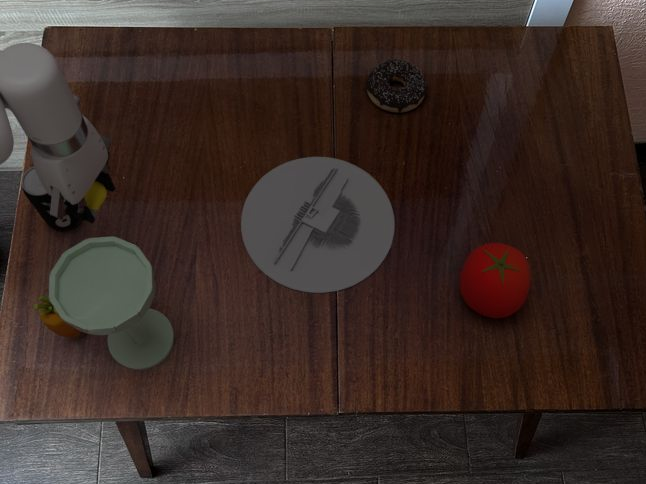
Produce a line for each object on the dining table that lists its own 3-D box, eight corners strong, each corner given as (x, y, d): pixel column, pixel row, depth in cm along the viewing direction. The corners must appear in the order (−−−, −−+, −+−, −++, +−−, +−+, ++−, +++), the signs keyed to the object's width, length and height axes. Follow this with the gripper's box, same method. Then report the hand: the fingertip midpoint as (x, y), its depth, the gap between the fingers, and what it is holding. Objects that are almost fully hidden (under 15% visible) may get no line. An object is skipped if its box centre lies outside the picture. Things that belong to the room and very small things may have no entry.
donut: (377, 62, 139) (378, 47, 136) (433, 80, 138) (436, 66, 135) (358, 105, 136) (359, 91, 132) (416, 123, 135) (418, 110, 131)
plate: (292, 134, 133) (292, 130, 132) (421, 200, 129) (422, 197, 128) (211, 246, 124) (210, 243, 123) (346, 320, 121) (346, 318, 120)
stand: (96, 354, 117) (51, 306, 97) (129, 300, 120) (91, 242, 101) (154, 380, 116) (120, 337, 96) (185, 324, 119) (159, 271, 100)
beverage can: (52, 238, 124) (24, 202, 112) (41, 208, 126) (13, 170, 114) (88, 225, 125) (64, 189, 114) (77, 196, 127) (53, 157, 115)
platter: (35, 311, 97) (29, 305, 95) (87, 230, 101) (82, 222, 99) (124, 350, 96) (119, 344, 93) (173, 266, 100) (169, 259, 98)
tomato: (440, 278, 124) (455, 240, 111) (496, 255, 126) (517, 216, 113) (473, 338, 121) (492, 307, 107) (529, 314, 123) (555, 281, 109)
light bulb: (108, 186, 110) (107, 181, 107) (103, 223, 110) (102, 219, 107) (85, 181, 109) (84, 176, 106) (80, 219, 109) (79, 215, 106)
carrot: (90, 319, 119) (59, 282, 105) (92, 346, 117) (61, 312, 103) (61, 323, 119) (26, 287, 104) (62, 350, 117) (26, 317, 103)
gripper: (66, 72, 95) (102, 152, 112) (-5, 169, 89) (45, 237, 106) (115, 92, 94) (144, 169, 111) (46, 190, 89) (88, 256, 106)
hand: (95, 202), depth 109 cm, fingers closed on light bulb, 5 cm apart
